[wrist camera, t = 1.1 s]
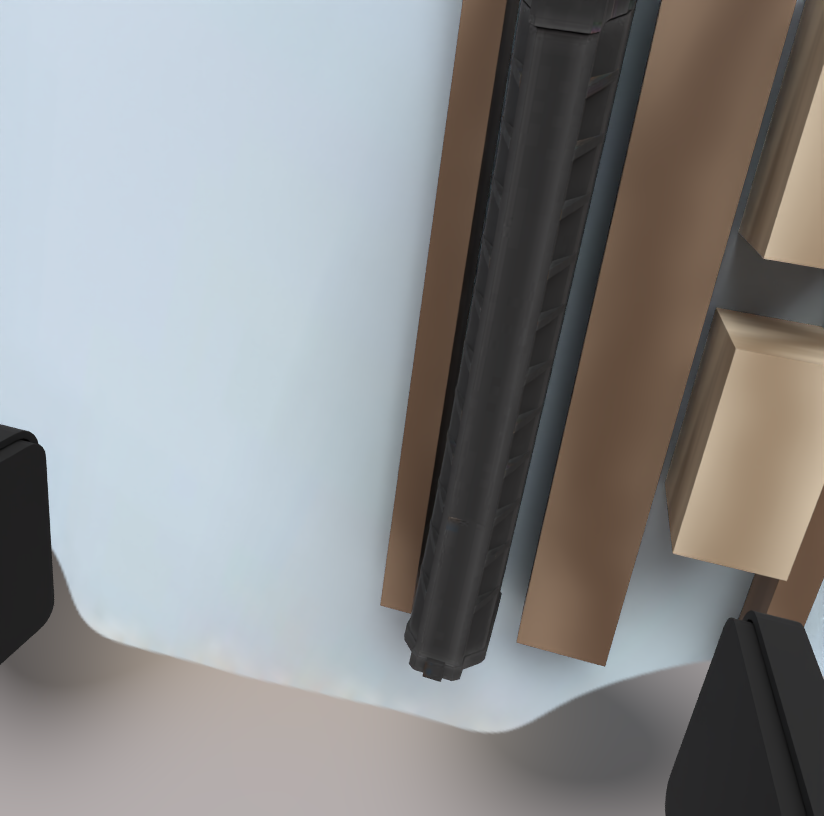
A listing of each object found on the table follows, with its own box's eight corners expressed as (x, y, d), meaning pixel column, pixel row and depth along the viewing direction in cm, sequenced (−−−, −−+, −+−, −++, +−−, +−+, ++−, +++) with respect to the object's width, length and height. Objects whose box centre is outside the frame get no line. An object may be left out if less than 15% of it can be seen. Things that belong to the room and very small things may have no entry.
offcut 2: (822, 326, 30) (866, 373, 24) (759, 503, 33) (786, 580, 27) (716, 306, 31) (735, 348, 25) (664, 482, 34) (673, 553, 28)
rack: (1080, -166, 23) (1141, -203, 20) (758, 665, 35) (769, 711, 33) (508, -203, 26) (495, -240, 24) (397, 570, 39) (380, 605, 36)
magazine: (460, 763, 30) (673, -197, 11) (382, 739, 31) (459, -215, 12) (530, 476, 43) (686, -199, 24) (474, 462, 44) (583, -209, 25)
